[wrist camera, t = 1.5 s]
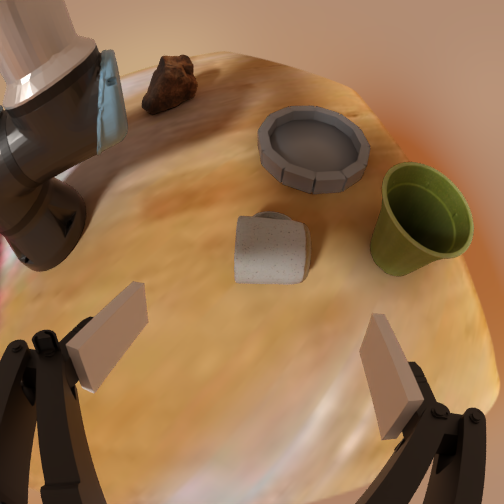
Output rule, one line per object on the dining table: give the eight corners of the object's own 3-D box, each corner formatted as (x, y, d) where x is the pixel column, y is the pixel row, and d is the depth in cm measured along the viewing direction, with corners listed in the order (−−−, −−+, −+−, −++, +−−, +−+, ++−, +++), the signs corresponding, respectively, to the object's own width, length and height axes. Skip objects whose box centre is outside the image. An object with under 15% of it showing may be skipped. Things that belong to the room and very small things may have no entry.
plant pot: (398, 203, 37) (430, 153, 27) (440, 270, 33) (488, 233, 22) (335, 230, 36) (360, 174, 25) (381, 309, 31) (428, 278, 21)
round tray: (237, 143, 43) (236, 129, 40) (312, 108, 47) (314, 96, 44) (311, 213, 37) (314, 200, 34) (383, 163, 41) (389, 151, 38)
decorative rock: (192, 87, 51) (184, 45, 41) (205, 97, 49) (198, 52, 39) (141, 110, 49) (127, 68, 39) (150, 122, 46) (135, 77, 37)
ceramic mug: (304, 292, 32) (315, 268, 26) (236, 291, 32) (230, 267, 26) (300, 218, 37) (307, 182, 30) (240, 217, 37) (236, 181, 30)
